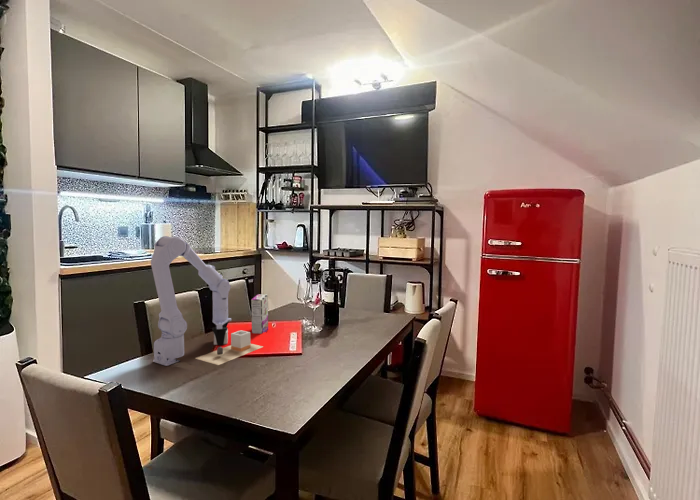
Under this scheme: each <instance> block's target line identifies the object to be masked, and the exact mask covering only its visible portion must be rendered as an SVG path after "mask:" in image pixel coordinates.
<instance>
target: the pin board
mask: <svg viewBox="0 0 700 500" xmlns="http://www.w3.org/2000/svg"><path fill="white" fill-rule="evenodd" d="M263 348H264V346H263V345H258V344H254V343H251V348H248V349H246V350H243V351H237V350H233V349H231V344H230V345H227V346H225V347H222V346H218V347H217V348H216V350H214V351H211V352H209V353H206V354H203V355H200V356H197V357H194V359H195V360H199V361H203V362H206V363H209V364H213V365H216V366H220V365H223V364H225V363H228V362H229V361H232V360H235V359H237V358H238V359H239V358H241V357H242V356H246V355H247V354H250V353H252V352H254V351H257V350H259V349H263Z"/></svg>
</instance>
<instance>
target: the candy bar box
mask: <svg viewBox="0 0 700 500" xmlns="http://www.w3.org/2000/svg"><path fill="white" fill-rule="evenodd" d="M268 297H269V294H267V293H265V294H262V293H260V294H259V293H258V294H256V295H255V296H253V298H251V300H250V305H251V306H250V308H251V310H250V311H251V313H250V314H251V334H263V333H265V332H267V331H268V330H269V301H268V300H269V299H268Z"/></svg>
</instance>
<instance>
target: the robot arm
mask: <svg viewBox="0 0 700 500" xmlns="http://www.w3.org/2000/svg"><path fill="white" fill-rule="evenodd" d="M153 246H154V250H153V253H152V256H151V260H150V266H151V270H152V274H153V275H152V276H153V279H154V280H153V281H154V284H155V288H156V293H157V297H158V301H159V302H158V303H159V307H160V312H159V313H158V317H159V318H158V322H157V327H158V329H159V331H161V336H160V337H159V338H158V339H156V340H155V341H154V342H153V360H152V363H153V362H154V363H156V364H159V365H162V366H165V367H166V366H170V365H173V364H176V363H178V362H179V363H180V362H181V360H180V359H178V358H182V357H183V356H185V335H184V334H185V333H186V331H187V329H188V322H187V321H186V320H185V319H184V317H183V313H182V312H181V310H180V309H179V307H178V303H177V298H176V294H175V289H174V284H173V279H172V274H171V269H170V264H171V263H172V262H174V260H176V259H177V258H178V257H182V258H184V259H185V260H186V261H187V262H188V263H189V264H191V265H192V266H193V267H194V268H195V269H196V270H197V271H198V272H197V273H198V274H197V275H198V276H199V277H200V278H201V279H202V280H203V281H204V282H205V283H206V285H208V287H209V290H210V291H212V323H213V324H214V326H213V327H211V328H212V329H211V330H212V333H213V335H214V334H215V337H216V341H217V346H222V345H225V344H224V338H225V333H226V331H227V329H228V330H229V328H228V325H229V323H230V322H231V321H232V317H229V292H230V290H231V287H232V285H231V284H230V281H229V280H228V279H226V278H224V277H223V274H221V273H219V272H218V271H217V270H216V266H215V265H211V264H206V263H205V262H204V261H203V260H202V258H201V257H200V256H199V255H198V254H197V253H196V251H194V250H193V248H192V247H191V245H190V244H189V243H188V242H186V240H184V238H183V237H180V236H179V237H178V236H168V235H164V236H162V237H160V238H158V239H157V240H156V241H155V243H154V245H153Z"/></svg>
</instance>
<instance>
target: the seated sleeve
mask: <svg viewBox="0 0 700 500" xmlns="http://www.w3.org/2000/svg"><path fill="white" fill-rule="evenodd" d="M251 342H252V341H251V332H250V331H246V330H237V331H235V332H231V333H230V345H231V349H233V350H237V351H243V350H246V349H248V348H251V344H252V343H251Z"/></svg>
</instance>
